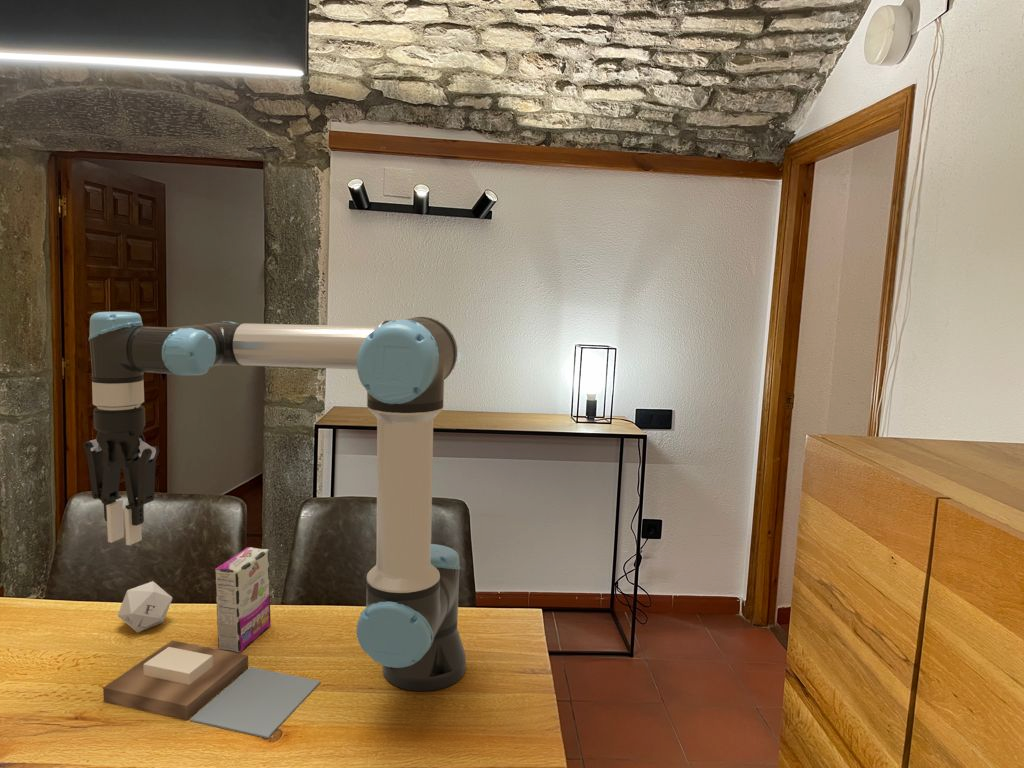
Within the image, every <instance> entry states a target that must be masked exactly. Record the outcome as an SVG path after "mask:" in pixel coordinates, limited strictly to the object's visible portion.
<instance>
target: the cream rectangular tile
mask: <svg viewBox="0 0 1024 768" xmlns="http://www.w3.org/2000/svg"><path fill="white" fill-rule="evenodd" d="M143 666H144V675H145V676H150V677H155V678H160V679H164V680H169V681H174V682H179V683H183V684H188V685H190V684H191V683H192V682H194V681H195V680H196V679H197V678H199V677H200V676H201V675H202V674H204V673H205V672H206V671H207V670H209V669H210V668H211V667H213V655H208V654H203V653H198V652H193V651H187V650H182V649H177V648H172V647H168V648H166V649H165V650H163V651H162V652H160V653H159V654H158V655H156V656H155V657H153V658H152V659H150V660H149V661H147V662H146V663H145V664H143Z"/></svg>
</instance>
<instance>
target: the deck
mask: <svg viewBox="0 0 1024 768" xmlns="http://www.w3.org/2000/svg"><path fill="white" fill-rule="evenodd" d="M168 647H172V648H177V649H182V650H187V651H193V652H198V653H203V654H208V655H213V667H211V668H210V669H209V670H207V671H206V672H205V673H204V674H202V675H201V676H200V677H199V678H197V679H196V680H195V681H194V682H192V683H191V684H190V685H188V684H183V683H179V682H174V681H169V680H164V679H160V678H155V677H150V676H145V675H144V666H143V664H145V663H146V662H147V661H149V660H150V659H152V658H153V657H155V656H156V655H158V654H159V653H160V652H162V651H163V650H165V649H166V648H168ZM248 669H249V654H244V653H237V652H231V651H224V650H219V649H218V648H213V647H207V646H204V645H196V644H194V643H193V644H192V643H187V642H182V641H177V640H170V641H169V642H168V643H166V644H165V645H163V646H161V647H160V648H159V649H158V650H156V651H155V652H153V653H152V654H150V655H149V656H147V657H146V658H144V659H142V660H141V661H140V662H139V663H136V665H133V667H131V668H129V669H128V670H126V671H125V672H124V673H122V674H121V675H119V676H117V678H115V679H113V680H112V681H111V682H109V683H108V684H105V686H104V687H102V688H103V689H102V690H103V691H102V692H103V693H102V694H103V702H104V703H108V704H114V705H117V706H122V707H126V708H131V709H136V710H139V711H144V712H148V713H153V714H157V715H161V716H166V717H171V718H175V719H180V720H183V721H184V720H185V721H188V720H190V719H191V718H192V717H193V716H194V715H195V714H197V713H198V712H199V711H200V710H201V709H202V708H203V707H205V706H206V705H207V704H208V703H209V702H210V701H212V700H213V699H214V698H215V697H216V696H217V695H219V694H220V693H221V692H222V691H223V690H224V689H226V688H227V687H228V686H229V685H230V684H231V683H233V682H234V681H235V680H236V679H237V678H238V677H239V676H241V675H242V674H243V673H244V672H245V671H246V670H248Z"/></svg>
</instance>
